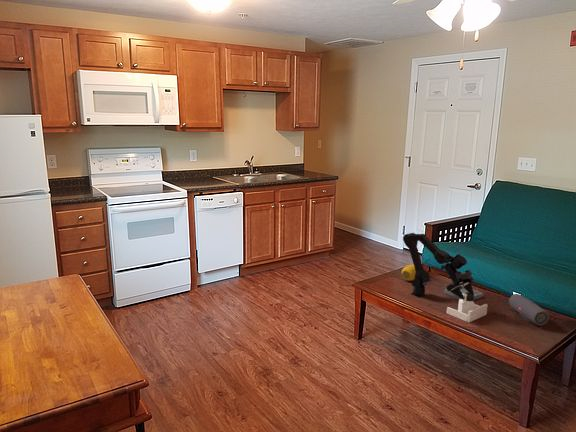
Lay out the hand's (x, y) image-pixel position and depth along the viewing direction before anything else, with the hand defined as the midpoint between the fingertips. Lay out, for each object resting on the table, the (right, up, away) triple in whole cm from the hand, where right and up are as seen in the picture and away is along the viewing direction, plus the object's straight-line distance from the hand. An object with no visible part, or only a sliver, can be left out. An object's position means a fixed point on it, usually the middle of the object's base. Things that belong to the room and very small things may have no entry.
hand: (468, 297), depth 239 cm
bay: (-1, -10, +3) cm, 10 cm away
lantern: (-17, +2, +54) cm, 56 cm away
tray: (+8, -4, +28) cm, 30 cm away
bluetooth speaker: (+31, -11, -1) cm, 33 cm away
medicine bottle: (-1, -10, +3) cm, 10 cm away
